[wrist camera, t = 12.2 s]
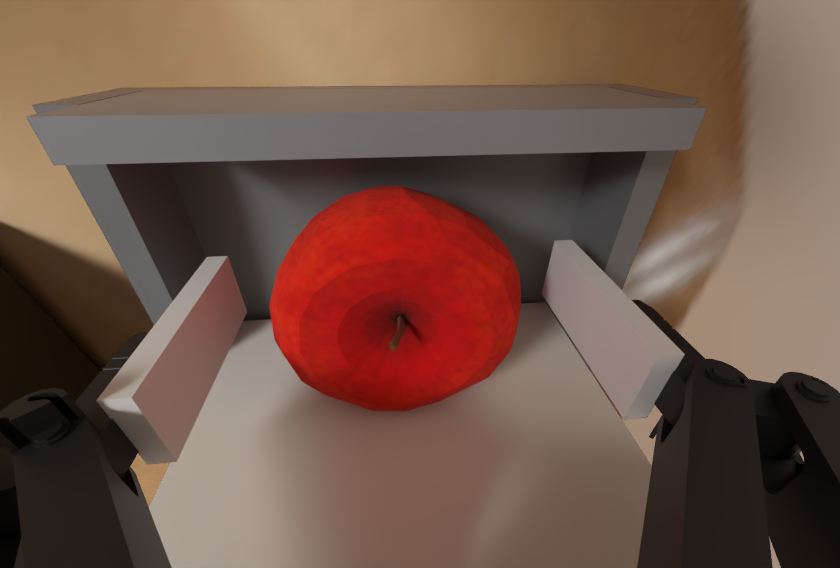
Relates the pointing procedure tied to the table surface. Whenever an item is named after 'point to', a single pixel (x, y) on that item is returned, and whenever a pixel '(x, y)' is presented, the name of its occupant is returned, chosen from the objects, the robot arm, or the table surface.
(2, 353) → the bottle
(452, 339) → the apple
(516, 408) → the plate
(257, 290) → the grey tray
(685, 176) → the table surface
